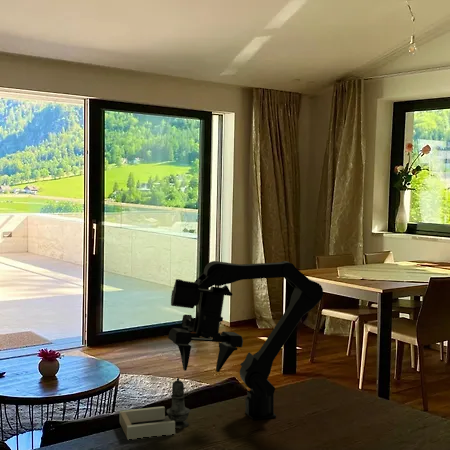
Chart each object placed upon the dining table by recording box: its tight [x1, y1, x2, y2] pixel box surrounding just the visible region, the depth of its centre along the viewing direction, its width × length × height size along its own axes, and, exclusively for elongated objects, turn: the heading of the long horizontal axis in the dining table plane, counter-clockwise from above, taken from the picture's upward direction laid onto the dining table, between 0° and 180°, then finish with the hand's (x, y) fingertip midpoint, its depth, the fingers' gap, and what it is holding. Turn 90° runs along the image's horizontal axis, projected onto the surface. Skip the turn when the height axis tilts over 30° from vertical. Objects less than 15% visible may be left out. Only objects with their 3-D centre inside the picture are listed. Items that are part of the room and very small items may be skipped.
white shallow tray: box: [119, 406, 176, 441], centre depth 162 cm, size 11×12×3 cm
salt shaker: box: [165, 377, 191, 429], centre depth 164 cm, size 6×6×12 cm
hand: (201, 370), depth 168 cm, fingers open, 9 cm apart
